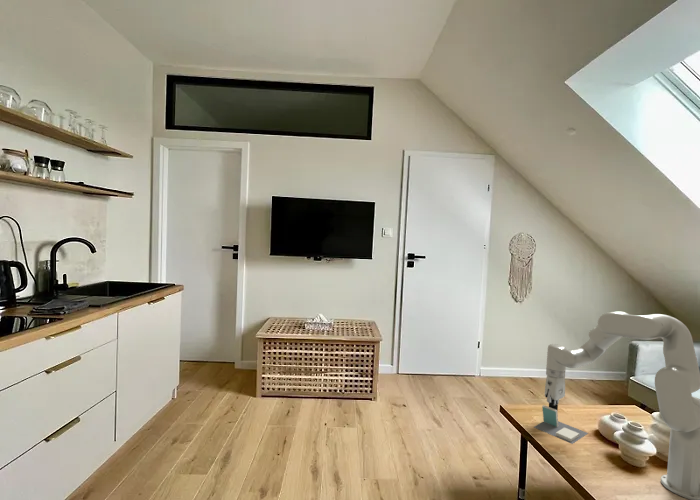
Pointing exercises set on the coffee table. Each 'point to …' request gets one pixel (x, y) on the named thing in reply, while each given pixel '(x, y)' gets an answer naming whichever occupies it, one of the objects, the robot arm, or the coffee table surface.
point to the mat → (552, 429)
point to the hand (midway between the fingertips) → (552, 412)
